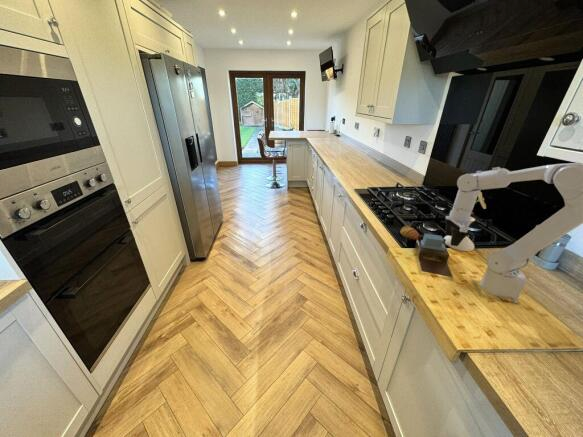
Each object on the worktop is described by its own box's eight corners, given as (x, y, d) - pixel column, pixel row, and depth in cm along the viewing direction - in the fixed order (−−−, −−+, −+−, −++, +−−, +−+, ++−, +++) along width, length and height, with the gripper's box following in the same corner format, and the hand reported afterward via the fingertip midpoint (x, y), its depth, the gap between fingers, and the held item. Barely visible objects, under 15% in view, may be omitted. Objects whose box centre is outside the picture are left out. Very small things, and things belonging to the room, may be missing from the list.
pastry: (424, 241, 106) (426, 233, 104) (412, 243, 104) (414, 236, 102) (408, 231, 114) (410, 224, 112) (397, 233, 112) (399, 226, 110)
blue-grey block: (442, 245, 94) (445, 236, 92) (444, 251, 90) (448, 241, 89) (420, 242, 96) (423, 233, 94) (422, 247, 93) (424, 237, 91)
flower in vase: (468, 257, 94) (492, 199, 83) (437, 245, 102) (456, 191, 91) (477, 246, 102) (500, 191, 91) (448, 235, 110) (466, 184, 99)
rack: (440, 252, 98) (445, 239, 95) (452, 279, 82) (457, 265, 80) (414, 247, 101) (418, 234, 98) (420, 273, 85) (425, 259, 82)
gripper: (445, 198, 90) (435, 229, 96) (455, 213, 78) (443, 248, 84) (466, 200, 88) (455, 232, 94) (480, 216, 76) (466, 251, 82)
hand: (451, 240), depth 89 cm, fingers open, 7 cm apart
